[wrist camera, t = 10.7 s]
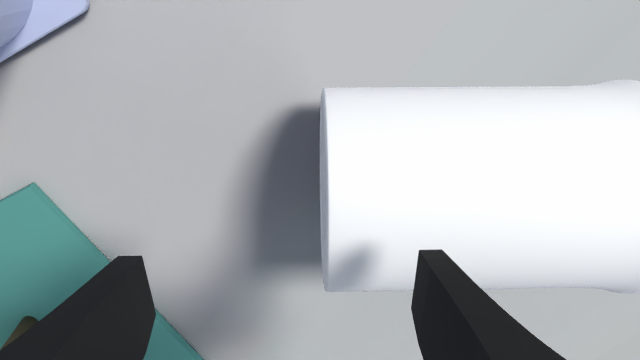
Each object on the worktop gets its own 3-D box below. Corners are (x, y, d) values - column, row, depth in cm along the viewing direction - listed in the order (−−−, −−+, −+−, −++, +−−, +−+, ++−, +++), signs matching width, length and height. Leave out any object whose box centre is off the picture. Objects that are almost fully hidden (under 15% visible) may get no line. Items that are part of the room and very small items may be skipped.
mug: (548, 318, 23) (320, 323, 23) (514, 172, 27) (317, 175, 26) (754, 261, 12) (329, 268, 12) (651, 31, 16) (322, 31, 16)
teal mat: (-193, 301, 24) (-202, 307, 24) (33, 182, 21) (28, 187, 21) (24, 445, 31) (20, 453, 31) (215, 371, 29) (214, 378, 28)
